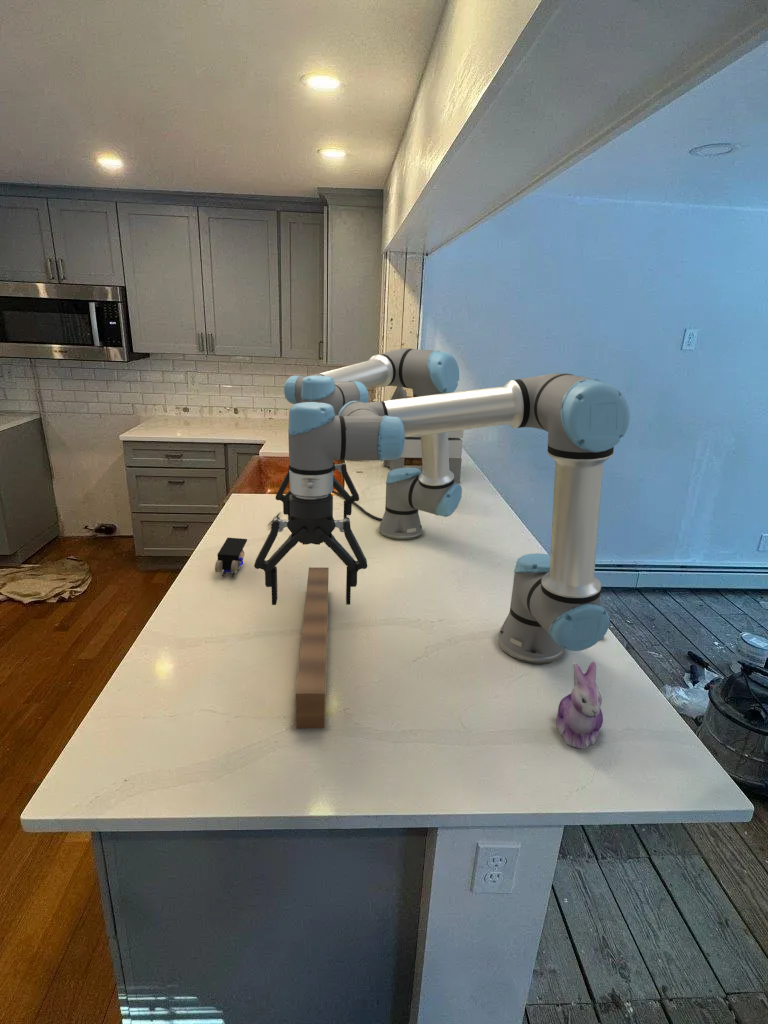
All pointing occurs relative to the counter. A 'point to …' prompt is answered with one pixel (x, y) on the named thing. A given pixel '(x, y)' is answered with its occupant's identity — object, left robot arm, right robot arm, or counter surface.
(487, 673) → the counter surface
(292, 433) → the right robot arm
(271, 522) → the feather
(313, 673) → the bar
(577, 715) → the figurine
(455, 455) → the grey slatted crate
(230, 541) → the black boxy wheeled piece
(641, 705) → the counter surface
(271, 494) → the counter surface
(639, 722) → the counter surface
